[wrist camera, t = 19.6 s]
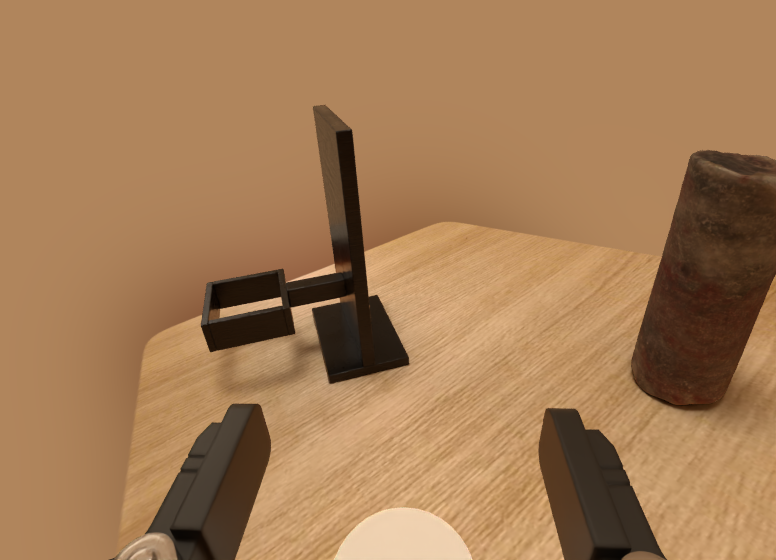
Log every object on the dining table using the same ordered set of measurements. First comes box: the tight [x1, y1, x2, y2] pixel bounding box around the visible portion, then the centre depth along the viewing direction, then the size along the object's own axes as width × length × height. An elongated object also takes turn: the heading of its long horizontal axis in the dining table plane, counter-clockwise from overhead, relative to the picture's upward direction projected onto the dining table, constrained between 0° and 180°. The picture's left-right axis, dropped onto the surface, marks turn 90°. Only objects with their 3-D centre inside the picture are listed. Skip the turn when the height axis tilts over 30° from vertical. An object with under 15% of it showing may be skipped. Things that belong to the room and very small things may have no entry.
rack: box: [201, 105, 409, 383], centre depth 40 cm, size 18×12×23 cm
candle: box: [632, 150, 776, 405], centre depth 34 cm, size 8×7×20 cm
